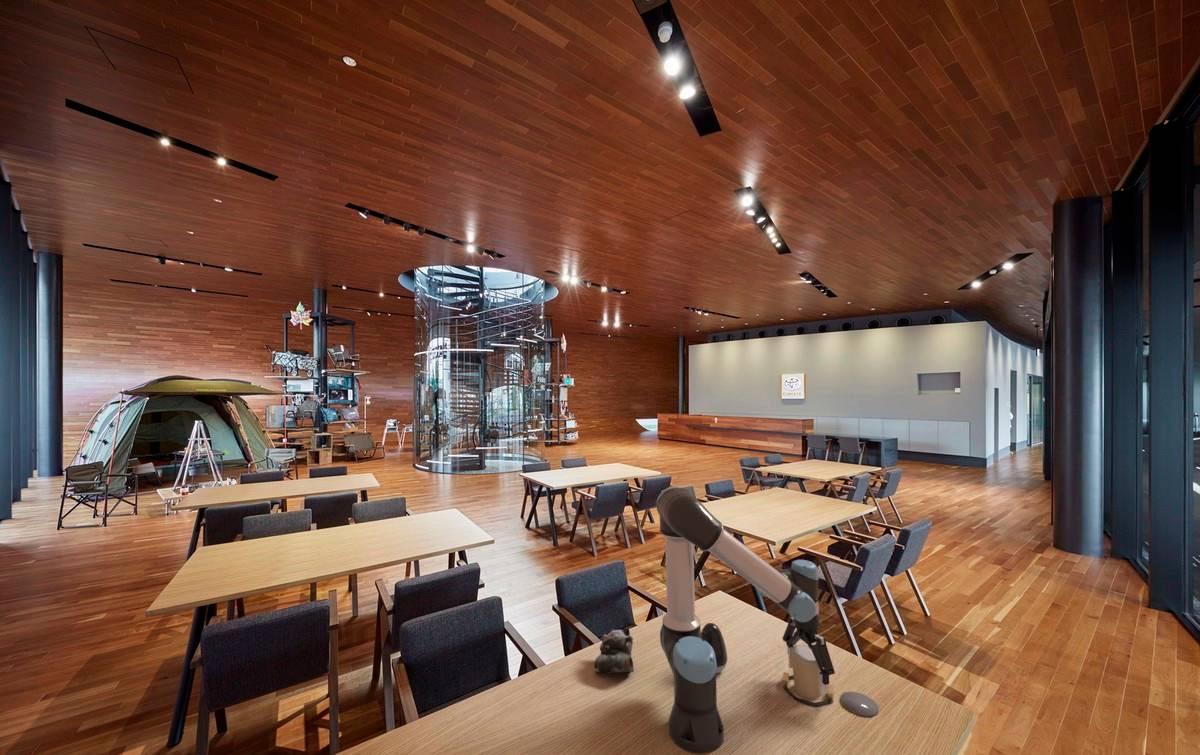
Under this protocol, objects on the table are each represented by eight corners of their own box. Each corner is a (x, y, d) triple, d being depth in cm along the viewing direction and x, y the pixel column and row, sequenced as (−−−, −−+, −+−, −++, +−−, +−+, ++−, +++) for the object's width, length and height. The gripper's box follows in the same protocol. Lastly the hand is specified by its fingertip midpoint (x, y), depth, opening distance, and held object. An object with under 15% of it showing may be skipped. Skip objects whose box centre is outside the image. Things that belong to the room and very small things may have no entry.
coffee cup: (817, 681, 148) (816, 644, 149) (829, 701, 139) (828, 661, 139) (787, 680, 149) (787, 643, 150) (797, 699, 140) (796, 660, 140)
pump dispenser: (690, 668, 156) (689, 623, 157) (708, 656, 163) (707, 613, 163) (715, 682, 149) (714, 635, 149) (733, 669, 156) (732, 624, 156)
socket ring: (805, 710, 135) (804, 701, 136) (774, 681, 149) (774, 673, 149) (843, 700, 139) (843, 692, 139) (810, 672, 153) (809, 665, 153)
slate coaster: (859, 720, 131) (859, 717, 131) (832, 697, 141) (832, 695, 141) (886, 712, 134) (886, 710, 134) (858, 690, 144) (858, 688, 144)
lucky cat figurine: (585, 671, 155) (589, 625, 162) (610, 672, 162) (613, 627, 169) (617, 676, 146) (619, 627, 152) (642, 677, 152) (643, 629, 159)
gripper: (846, 629, 134) (849, 702, 133) (789, 593, 158) (790, 655, 157) (825, 633, 132) (828, 708, 131) (770, 596, 156) (772, 659, 155)
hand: (807, 679), depth 144 cm, fingers open, 13 cm apart
